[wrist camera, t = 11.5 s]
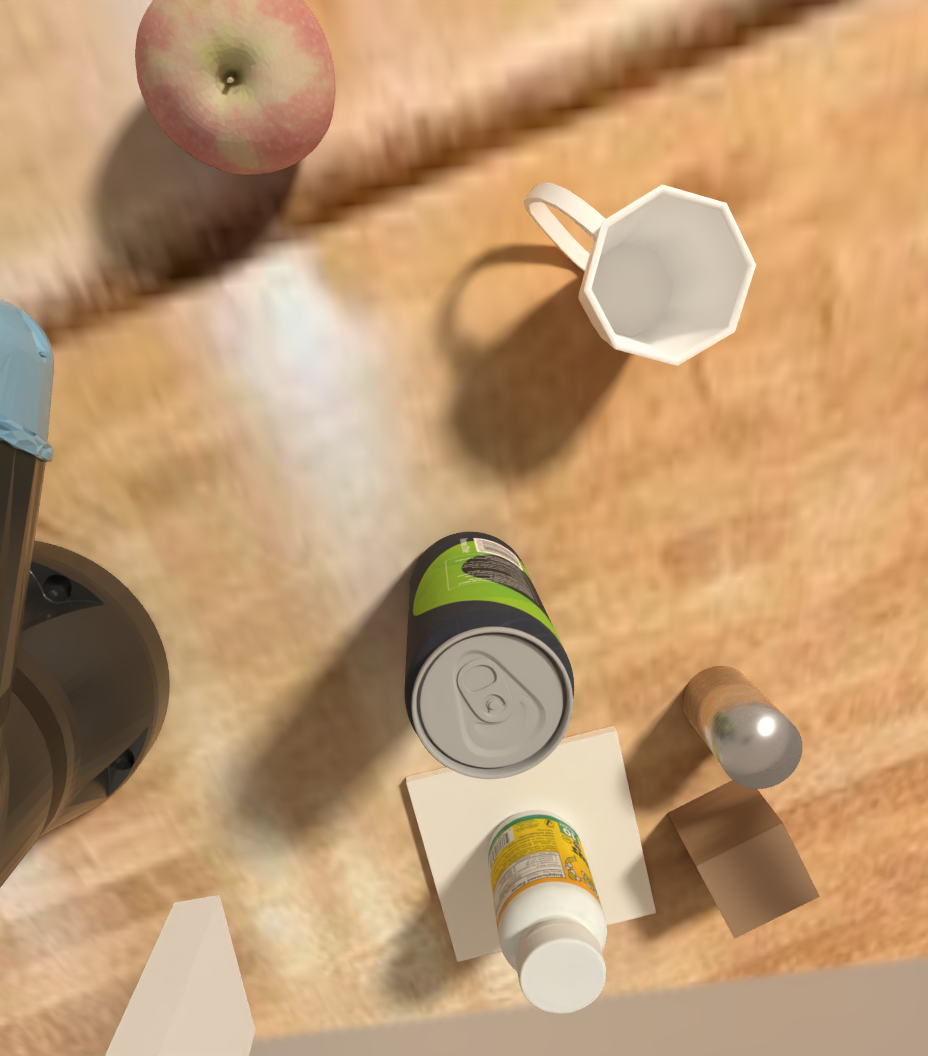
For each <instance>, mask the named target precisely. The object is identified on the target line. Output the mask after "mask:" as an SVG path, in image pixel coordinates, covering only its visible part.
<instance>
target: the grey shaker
mask: <svg viewBox="0 0 928 1056" xmlns="http://www.w3.org/2000/svg"><path fill="white" fill-rule="evenodd" d="M683 710H684V713H685V715H686V717H687V719H688V720H689V722H690V723H691V725H692V726H693V727H694V729H695V730H696V731H697V733H698V734H699V736H700V737H701V738H702V740H703V741H704V742H705V744H706V745H707V747H708V748H709V749H710V751H711V752H712V753H713V755H714V756H715V758H716V759H717V760H718V762H719V763H720V764H721V766H722V767H723V769H724V770H725V771H726V773H727V774H728V775H729V776H730V778H731V779H732V780H734V781H735V782H736V783H738V784H739V785H742V786H744V787H747V788H752V789H763V788H769V787H772V786H775V785H777V784H779V783H781V782H782V781H784V780H785V779H786V778H788V777H789V776H790V775H791V774H792V773H793V771H794V770H795V769H796V767H797V765H798V763H799V761H800V758H801V754H802V740H801V736H800V734H799V732H798V730H797V728H796V727H795V726H794V725H793V724H792V723H791V722H790V721H789V720H788V719H787V718H786V717H785V716H784V715H783V714H782V713H781V712H780V711H779V710H778V709H777V708H776V707H775V706H774V705H773V704H772V703H771V702H770V701H769V700H768V699H767V698H766V697H765V696H764V695H763V694H762V693H761V692H760V691H759V690H758V689H757V688H756V687H755V686H754V685H753V684H752V683H751V682H750V681H749V680H748V679H747V678H746V677H745V676H744V675H743V674H742V673H741V672H739V671H737V670H735V669H733V668H730V667H725V666H717V667H711V668H708V669H706V670H703V671H702V672H700V673H698V674H697V675H696V676H695V677H694V678H693V679H692V680H691V681H690V682H689V684H688V685H687V687H686V689H685V691H684V695H683Z"/></svg>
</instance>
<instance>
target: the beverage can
mask: <svg viewBox="0 0 928 1056" xmlns="http://www.w3.org/2000/svg"><path fill="white" fill-rule="evenodd" d="M573 697H574V678H573V672H572V668H571V664H570V662H569V659H568V657H567V654H566V652H565V650H564V648H563V646H562V644H561V642H560V640H559V638H558V636H557V634H556V631H555V629H554V627H553V625H552V623H551V621H550V619H549V617H548V615H547V613H546V611H545V609H544V606H543V604H542V602H541V600H540V598H539V596H538V594H537V592H536V590H535V588H534V586H533V584H532V581H531V579H530V577H529V575H528V573H527V571H526V569H525V567H524V565H523V563H522V561H521V559H520V558H519V556H518V555H517V554H516V553H515V551H514V550H513V549H512V548H511V547H510V546H508V545H507V544H506V543H504V542H503V541H501V540H500V539H498V538H496V537H493V536H491V535H488V534H484V533H479V532H461V533H456V534H452V535H449V536H447V537H444V538H442V539H440V540H439V541H437V542H436V543H434V544H433V545H432V546H430V547H429V548H428V549H427V550H426V551H425V552H424V553H423V555H422V556H421V557H420V559H419V560H418V562H417V564H416V566H415V568H414V571H413V573H412V577H411V582H410V596H409V615H408V634H407V653H406V672H405V704H406V709H407V713H408V717H409V719H410V722H411V724H412V726H413V728H414V730H415V732H416V734H417V735H418V737H419V738H420V740H421V742H422V744H423V745H424V746H425V748H426V749H427V750H428V752H429V753H430V754H431V755H432V756H433V757H434V758H435V759H436V760H437V761H439V762H440V763H441V764H443V765H444V766H446V767H447V768H449V769H451V770H453V771H455V772H457V773H460V774H462V775H466V776H469V777H474V778H480V779H499V778H506V777H511V776H514V775H518V774H520V773H523V772H525V771H527V770H529V769H531V768H533V767H535V766H536V765H538V764H539V763H541V762H542V761H543V760H545V759H546V758H547V757H548V756H549V755H550V754H551V753H552V752H553V751H554V750H555V749H556V747H557V746H558V745H559V743H560V742H561V740H562V739H563V737H564V735H565V733H566V731H567V729H568V726H569V723H570V720H571V715H572V709H573Z"/></svg>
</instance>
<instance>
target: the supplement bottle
mask: <svg viewBox="0 0 928 1056" xmlns="http://www.w3.org/2000/svg"><path fill="white" fill-rule="evenodd" d="M488 865H489V871H490V878H491V885H492V893H493V900H494V908H495V915H496V924H497V931H498V938H499V943H500V947H501V950H502V952H503V954H504V956H505V958H506V960H507V961H508V962H509V964H510V965H511V966H512V967H513V968H514V969H515V970H516V971H517V973H518V977H519V983H520V987H521V990H522V992H523V994H524V996H525V997H526V998H527V1000H528V1001H529V1002H530V1003H531V1004H533V1005H534V1006H535V1007H537V1008H539V1009H541V1010H543V1011H546V1012H551V1013H570V1012H574V1011H577V1010H580V1009H582V1008H584V1007H586V1006H587V1005H589V1004H590V1003H591V1002H593V1001H594V1000H595V999H596V998H597V997H598V995H599V994H600V992H601V991H602V989H603V987H604V984H605V980H606V966H605V962H604V958H603V954H602V951H603V949H604V946H605V942H606V937H607V924H606V918H605V914H604V912H603V909H602V906H601V903H600V900H599V896H598V893H597V890H596V887H595V884H594V881H593V878H592V875H591V872H590V869H589V865H588V862H587V859H586V856H585V853H584V850H583V847H582V844H581V842H580V839H579V836H578V834H577V832H576V831H575V829H574V828H573V827H572V826H571V825H570V824H569V823H568V822H567V821H565V820H564V819H563V818H561V817H560V816H558V815H557V814H555V813H552V812H548V811H544V810H529V811H524V812H521V813H518V814H515V815H513V816H511V817H509V818H508V819H507V820H505V821H504V822H503V823H502V824H501V825H500V826H499V827H498V828H497V830H496V831H495V832H494V834H493V836H492V838H491V840H490V844H489V849H488Z"/></svg>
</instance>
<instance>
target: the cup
mask: <svg viewBox="0 0 928 1056" xmlns="http://www.w3.org/2000/svg"><path fill="white" fill-rule="evenodd" d="M544 203H545V204H547V205H549V206H552V207H554V208H556V209H558V210H560V211H561V212H563V213H564V214H566V215H567V216H569V217H570V218H571V219H572V220H573V221H574V222H575V223H576V224H577V225H579V226H580V227H581V228H582V229H583V230H584V231H585V232H586V233H587V234H588V235H589V236H591V237H592V238H593V239H594V240H595V241H594V243H593V245H592V247H591V251H590V254H589V253H588V252H587V251H586V250H585V249H584V248H583V247H582V246H581V245H580V244H579V243H578V242H577V241H576V240H575V239H574V238H573V237H572V236H571V235H570V234H569V233H568V232H567V230H566V229H565V228H564V227H563V226H562V225H561V224H560V222H559V221H558V220H557V219H556V218H555V216H554V215H553V214H552V213H551V212H550V210H549V209H548V208H547V206H546V205H545V204H544ZM524 204H525V208H526V210H527V212H528V213H529V214H530V216H531V217H532V218H533V220H534V221H535V222H536V223H537V225H538V226H539V227H540V228H541V229H542V230H543V231H544V233H545V234H546V235H547V236H548V237H549V238H550V239H551V240H552V241H553V242H554V244H555V245H556V246H557V247H558V248H559V249H560V250H561V251H562V252H563V253H564V254H565V255H566V256H567V257H568V258H569V259H570V260H571V261H572V262H573V263H574V264H575V265H577V266H578V267H579V268H580V269H581V270H583V271H584V272H585V273H584V276H583V280H582V284H581V287H580V291H579V295H578V296H579V297H578V299H579V301H580V303H581V305H582V307H583V309H584V311H585V313H586V314H587V316H588V318H589V320H590V322H591V324H592V326H593V327H594V329H596V330H597V332H598V334H599V336H600V337H601V338H602V339H603V340H605V341H606V342H607V343H608V344H609V345H610V346H612V347H613V348H614V349H616V350H620V351H624V352H627V353H631V354H635V355H639V356H642V357H646V358H650V359H654V360H657V361H661V362H665V363H669V364H672V365H676V366H678V365H680V364H681V363H683V362H685V361H686V360H688V359H690V358H691V357H693V356H695V355H696V354H698V353H700V352H701V351H703V350H705V349H706V348H708V347H710V346H712V345H713V344H715V343H717V342H718V341H720V340H722V339H723V338H725V337H727V336H728V335H730V334H732V333H733V332H735V330H736V327H737V324H738V320H739V317H740V314H741V311H742V308H743V304H744V301H745V298H746V295H747V292H748V289H749V285H750V282H751V279H752V276H753V273H754V269H755V266H756V264H755V262H754V260H753V258H752V256H751V254H750V251H749V249H748V247H747V245H746V243H745V241H744V239H743V237H742V235H741V233H740V231H739V228H738V226H737V224H736V222H735V220H734V218H733V216H732V214H731V212H730V210H729V208H728V206H727V203H724V202H720V201H717V200H713V199H710V198H706V197H703V196H700V195H696V194H693V193H689V192H686V191H682V190H679V189H675V188H672V187H669V186H665V185H661V186H659V187H658V188H656V189H654V190H653V191H651V192H649V193H648V194H646V195H645V196H643V197H641V198H640V199H638V200H636V201H635V202H633V203H631V204H630V205H628V206H627V207H625V208H623V209H622V210H620V211H618V212H617V213H615V214H613V215H612V216H610V217H609V218H607V219H605V218H604V217H603V216H602V215H601V214H599V213H598V212H597V211H596V210H595V209H593V208H592V207H591V206H590V205H588V204H587V203H586V202H584V201H583V200H582V199H581V198H579V197H578V196H576V195H575V194H573V193H572V192H570V191H569V190H567V189H565V188H562V187H560V186H558V185H555V184H553V183H550V182H544V183H538V184H537V185H535V186H534V187H533V189H532V190H531V191H530V193H529V194H528V196H527V197H526V198H525V200H524Z"/></svg>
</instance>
